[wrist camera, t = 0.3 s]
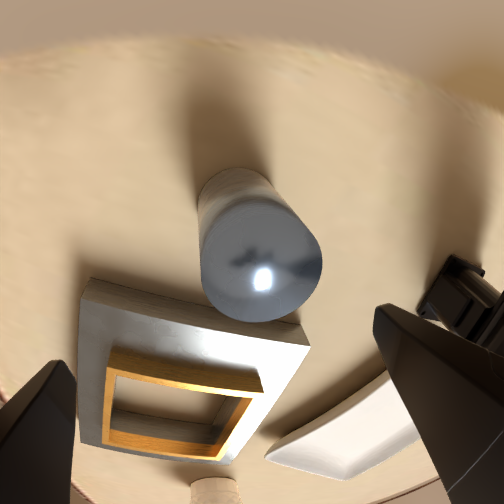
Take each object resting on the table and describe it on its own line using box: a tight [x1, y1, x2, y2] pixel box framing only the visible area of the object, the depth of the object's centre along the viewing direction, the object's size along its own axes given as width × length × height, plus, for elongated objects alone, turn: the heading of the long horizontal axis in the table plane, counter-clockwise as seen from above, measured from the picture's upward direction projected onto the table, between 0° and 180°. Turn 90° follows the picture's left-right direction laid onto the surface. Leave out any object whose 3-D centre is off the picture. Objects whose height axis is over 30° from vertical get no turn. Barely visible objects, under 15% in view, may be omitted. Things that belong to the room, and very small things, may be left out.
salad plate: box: [264, 370, 421, 481], centre depth 33 cm, size 21×21×3 cm
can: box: [198, 168, 322, 322], centre depth 16 cm, size 5×5×8 cm
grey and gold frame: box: [77, 277, 311, 465], centre depth 24 cm, size 16×19×4 cm
